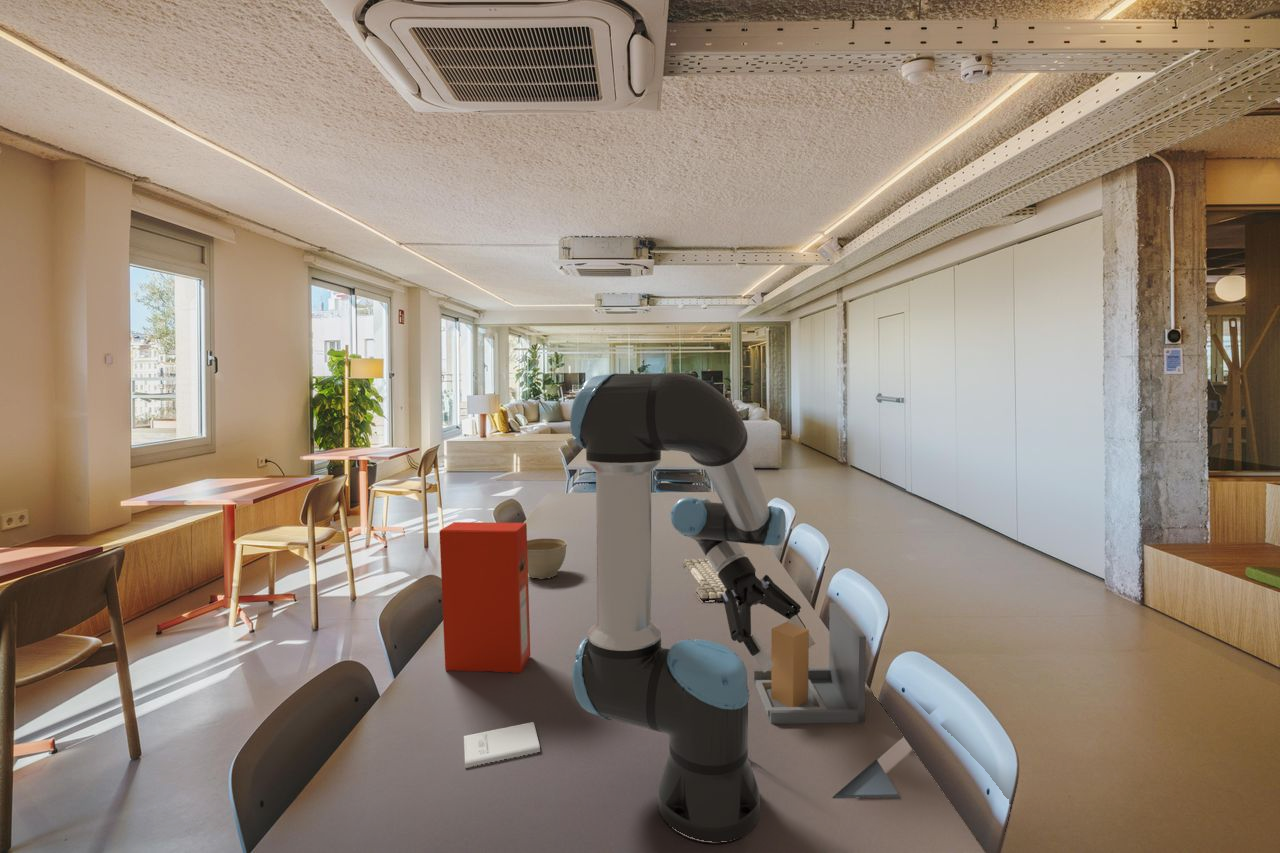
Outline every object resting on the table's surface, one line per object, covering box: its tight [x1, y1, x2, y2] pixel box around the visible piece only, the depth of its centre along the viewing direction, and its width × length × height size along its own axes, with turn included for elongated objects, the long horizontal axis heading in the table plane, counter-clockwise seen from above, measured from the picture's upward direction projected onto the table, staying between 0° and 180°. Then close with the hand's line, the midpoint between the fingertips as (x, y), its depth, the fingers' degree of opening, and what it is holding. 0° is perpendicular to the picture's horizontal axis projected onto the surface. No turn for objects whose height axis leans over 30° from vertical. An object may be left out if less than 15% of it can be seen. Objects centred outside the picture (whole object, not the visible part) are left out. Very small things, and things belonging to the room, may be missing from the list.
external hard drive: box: [463, 721, 541, 769], centre depth 100 cm, size 2×8×12 cm
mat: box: [832, 759, 900, 799], centre depth 91 cm, size 10×10×1 cm
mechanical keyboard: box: [683, 557, 727, 603], centre depth 185 cm, size 38×19×3 cm, turn 9°
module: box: [770, 621, 810, 707], centre depth 111 cm, size 5×5×14 cm
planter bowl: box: [527, 537, 568, 579], centre depth 192 cm, size 16×16×11 cm
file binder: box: [439, 521, 531, 674], centre depth 129 cm, size 8×17×32 cm, turn 85°
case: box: [753, 602, 867, 725], centre depth 111 cm, size 18×16×18 cm
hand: (790, 657), depth 111 cm, fingers open, 13 cm apart
